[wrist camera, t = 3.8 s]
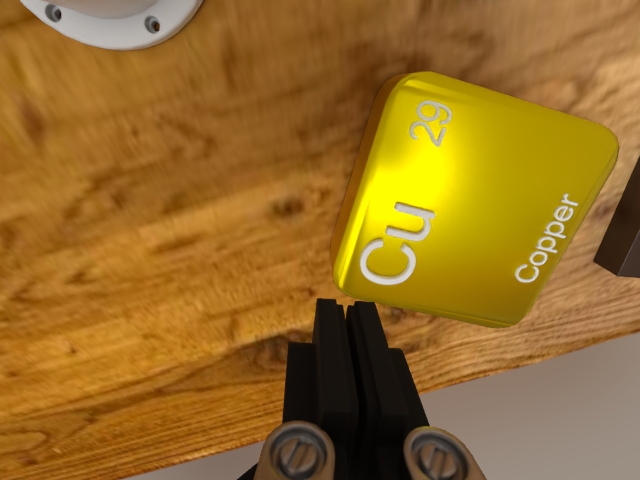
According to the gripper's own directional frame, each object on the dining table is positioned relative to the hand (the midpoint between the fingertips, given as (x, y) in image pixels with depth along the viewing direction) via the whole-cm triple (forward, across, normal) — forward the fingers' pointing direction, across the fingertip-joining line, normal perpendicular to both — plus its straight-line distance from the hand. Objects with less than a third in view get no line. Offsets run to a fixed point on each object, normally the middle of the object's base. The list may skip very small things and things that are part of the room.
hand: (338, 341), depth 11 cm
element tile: (+17, -9, 0) cm, 20 cm away
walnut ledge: (+17, -24, -1) cm, 29 cm away
